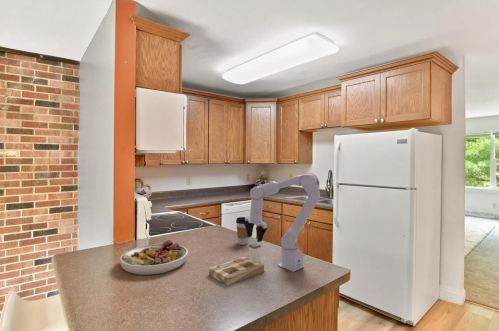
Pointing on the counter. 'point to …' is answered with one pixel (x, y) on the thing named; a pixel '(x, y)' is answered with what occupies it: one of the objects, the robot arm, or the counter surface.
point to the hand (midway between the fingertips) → (254, 239)
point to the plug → (255, 252)
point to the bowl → (154, 258)
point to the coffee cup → (241, 231)
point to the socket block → (236, 270)
